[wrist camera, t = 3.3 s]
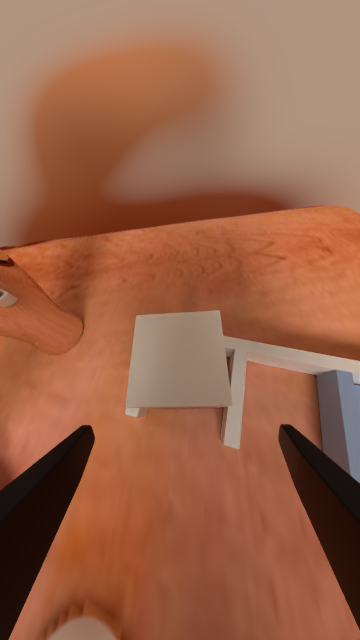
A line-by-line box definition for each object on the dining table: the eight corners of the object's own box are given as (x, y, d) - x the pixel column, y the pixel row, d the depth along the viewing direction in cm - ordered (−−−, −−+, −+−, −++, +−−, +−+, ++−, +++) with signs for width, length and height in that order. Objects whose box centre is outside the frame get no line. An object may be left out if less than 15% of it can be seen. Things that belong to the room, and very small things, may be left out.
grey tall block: (213, 408, 18) (232, 405, 7) (169, 409, 18) (125, 407, 7) (209, 364, 20) (219, 310, 9) (170, 365, 20) (136, 315, 10)
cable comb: (135, 413, 18) (124, 413, 16) (161, 333, 22) (155, 323, 19) (479, 518, 13) (553, 547, 10) (432, 387, 17) (476, 382, 14)
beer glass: (27, 338, 24) (-190, 249, 11) (68, 303, 26) (-70, 191, 13) (53, 370, 21) (-188, 304, 8) (97, 328, 23) (-38, 221, 10)
